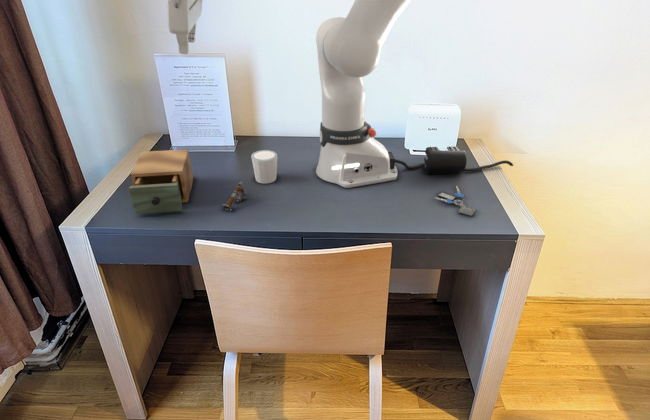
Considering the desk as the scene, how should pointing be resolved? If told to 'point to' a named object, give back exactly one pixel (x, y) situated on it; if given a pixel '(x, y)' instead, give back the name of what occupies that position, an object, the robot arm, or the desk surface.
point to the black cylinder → (445, 160)
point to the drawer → (157, 194)
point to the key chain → (463, 208)
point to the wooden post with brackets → (234, 195)
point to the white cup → (265, 166)
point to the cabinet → (166, 167)
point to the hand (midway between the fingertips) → (187, 47)
